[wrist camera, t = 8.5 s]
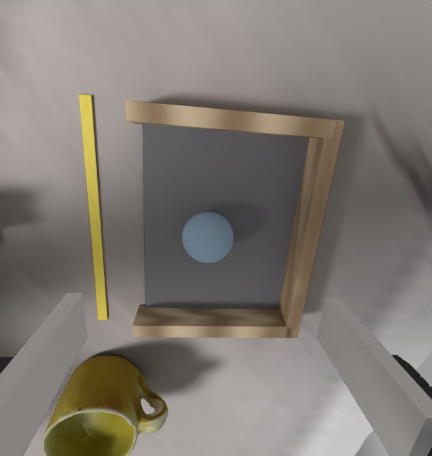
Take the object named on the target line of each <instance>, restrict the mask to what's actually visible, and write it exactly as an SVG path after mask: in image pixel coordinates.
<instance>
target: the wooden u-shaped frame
mask: <svg viewBox="0 0 432 456" xmlns="http://www.w3.org/2000/svg"><path fill="white" fill-rule="evenodd" d="M125 109H126V121H128V122H132V123H137V124H151V125H163V126H175V127H187V128H199V129H211V130H222V131H234V132H246V133H258V134H270V135H282V136H294V137H306V138H309V143H308V148H307V154H306V159H305V165H304V170H303V176H302V181H301V187H300V192H299V198H298V203H297V209H296V214H295V220H294V225H293V231H292V236H291V242H290V247H289V253H288V258H287V264H286V269H285V275H284V280H283V286H282V291H281V297H280V302H279V308H278V310H277V309H209V308H145V305H139V308H138V311H137V315H136V318H135V321H134V324H133V337H231V338H297V337H298V332H299V327H300V323H301V318H302V314H303V309H304V305H305V300H306V295H307V291H308V286H309V282H310V277H311V273H312V268H313V264H314V259H315V254H316V250H317V245H318V241H319V236H320V232H321V227H322V223H323V218H324V213H325V209H326V204H327V200H328V195H329V191H330V186H331V182H332V177H333V172H334V168H335V163H336V159H337V154H338V150H339V145H340V140H341V136H342V131H343V127H344V122H345V121H343V120H332V119H322V118H311V117H300V116H289V115H278V114H268V113H257V112H246V111H235V110H224V109H213V108H203V107H192V106H181V105H170V104H159V103H149V102H138V101H127V100H125Z"/></svg>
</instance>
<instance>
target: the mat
mask: <svg viewBox="0 0 432 456" xmlns="http://www.w3.org/2000/svg"><path fill="white" fill-rule="evenodd" d="M308 143H309V138H306V137H294V136H282V135H270V134H258V133H246V132H234V131H222V130H211V129H199V128H187V127H175V126H163V125H151V124H143V178H144V247H145V308H209V309H277V310H278V308H279V302H280V297H281V291H282V286H283V280H284V275H285V269H286V264H287V258H288V253H289V247H290V242H291V236H292V231H293V225H294V220H295V214H296V209H297V203H298V198H299V192H300V187H301V181H302V176H303V170H304V165H305V159H306V154H307V148H308ZM201 212H215V213H218V214H220V215H221V216H223V217H224V218H225V219H226V220H227V221H228V222H229V223H230V225H231V227H232V230H233V235H234V239H233V245H232V247H231V249H230V251H229V253H228V254H227V255H226V256H225V257H224V258H222V259H221V260H219V261H217V262H213V263H203V262H199V261H197V260H195V259H193V258H192V257H191V256H190V255H189V254H188V253H187V252H186V250H185V248H184V245H183V241H182V233H183V229H184V227H185V225H186V223H187V222H188V221H189V219H190V218H192V217H193V216H194V215H196V214H198V213H201Z"/></svg>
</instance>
